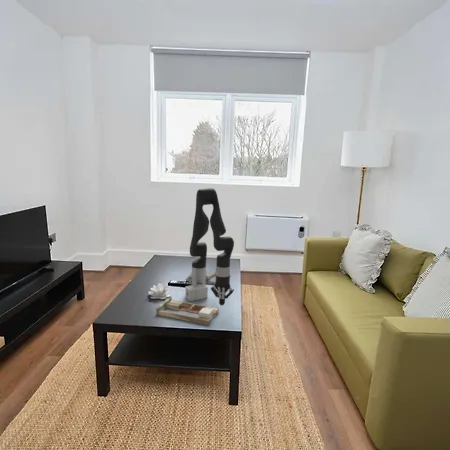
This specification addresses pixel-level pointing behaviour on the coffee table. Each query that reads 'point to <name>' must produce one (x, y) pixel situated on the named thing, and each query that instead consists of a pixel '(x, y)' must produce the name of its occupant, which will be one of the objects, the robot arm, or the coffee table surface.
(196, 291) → the supplement box
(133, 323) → the coffee table surface
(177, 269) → the coffee table surface
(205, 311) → the cream block
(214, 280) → the grey board with linkage
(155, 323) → the coffee table surface
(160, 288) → the lotus flower
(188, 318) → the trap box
